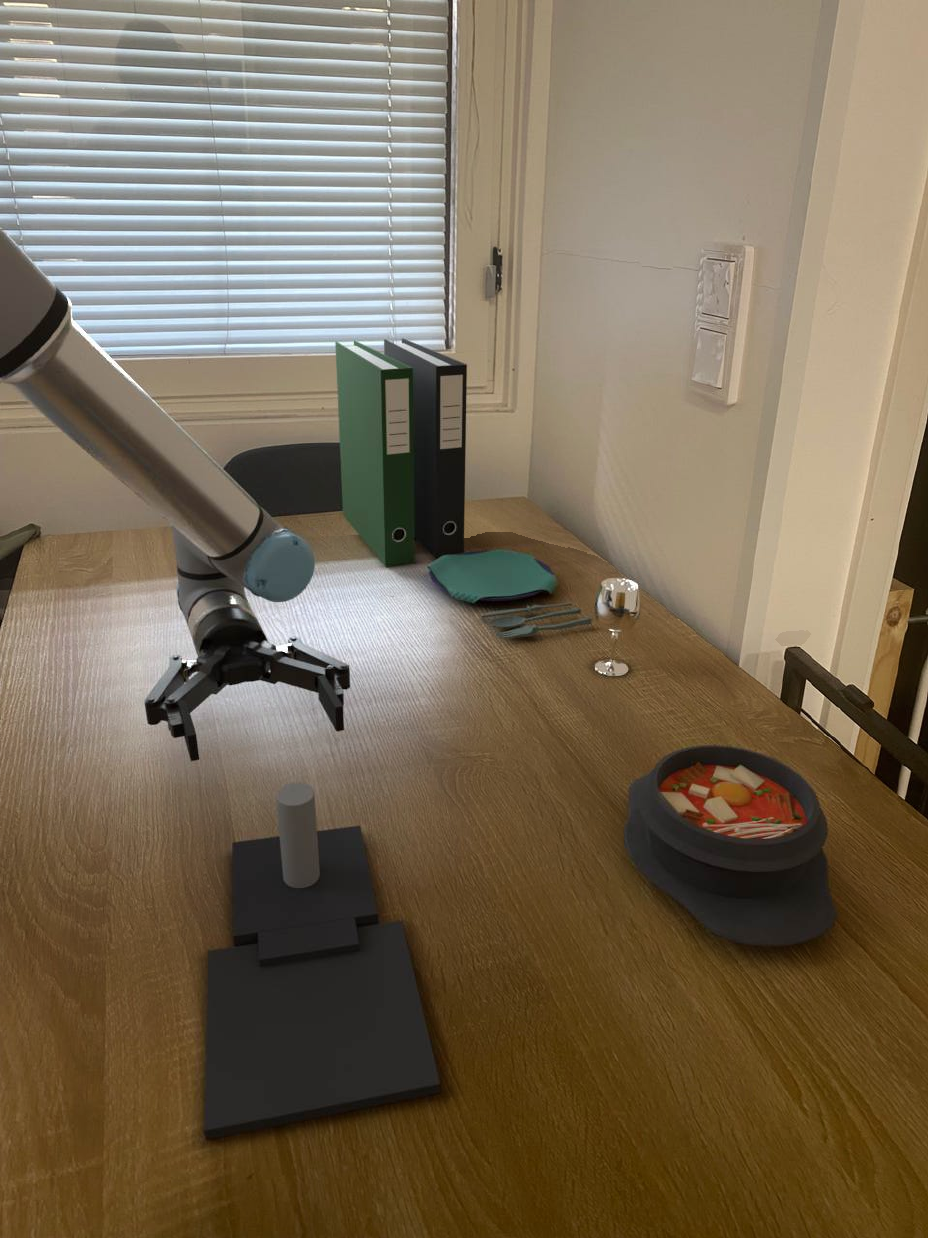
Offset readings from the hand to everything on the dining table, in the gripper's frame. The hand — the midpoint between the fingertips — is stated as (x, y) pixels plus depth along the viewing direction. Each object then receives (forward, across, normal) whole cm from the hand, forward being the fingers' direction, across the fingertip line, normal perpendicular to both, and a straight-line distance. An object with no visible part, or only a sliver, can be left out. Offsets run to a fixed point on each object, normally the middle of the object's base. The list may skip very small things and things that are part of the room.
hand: (268, 733), depth 84 cm
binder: (-74, -39, -11) cm, 84 cm away
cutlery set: (-43, -45, -11) cm, 63 cm away
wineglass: (-17, -48, -11) cm, 52 cm away
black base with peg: (+11, 0, -11) cm, 16 cm away
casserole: (+20, -38, -11) cm, 44 cm away
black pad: (+23, +2, -11) cm, 26 cm away
